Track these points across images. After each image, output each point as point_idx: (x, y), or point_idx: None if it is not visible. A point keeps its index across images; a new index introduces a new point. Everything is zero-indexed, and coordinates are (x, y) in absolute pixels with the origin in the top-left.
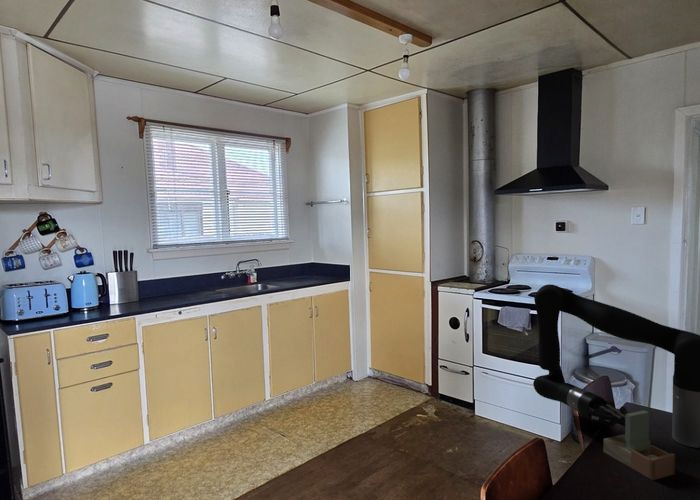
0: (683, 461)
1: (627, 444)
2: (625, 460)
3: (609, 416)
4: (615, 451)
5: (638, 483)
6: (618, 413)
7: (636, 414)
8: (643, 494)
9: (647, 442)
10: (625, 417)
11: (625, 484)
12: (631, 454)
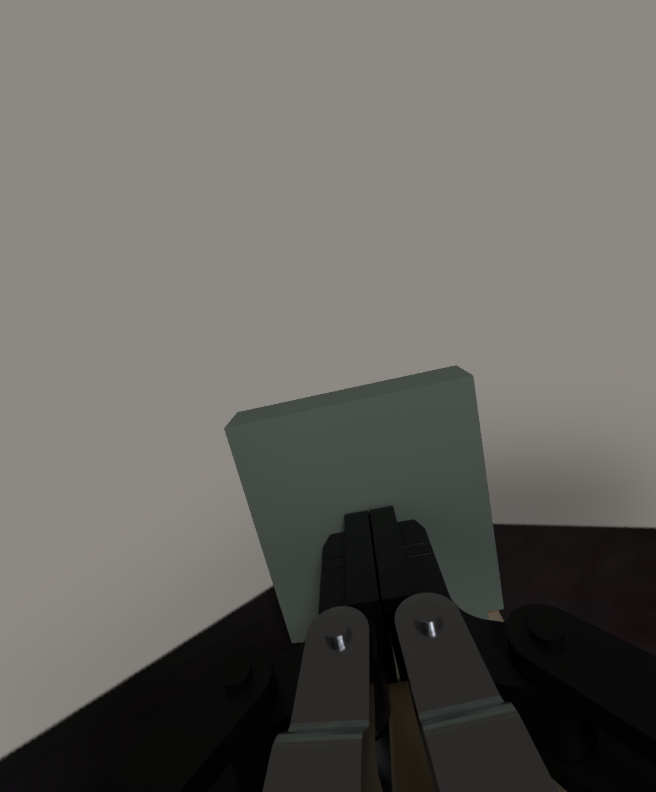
0: (160, 693)
1: None
2: None
3: (605, 648)
4: None
5: (541, 575)
6: (344, 725)
7: (374, 384)
8: (557, 525)
9: None
10: (476, 409)
11: (616, 574)
12: (497, 611)
